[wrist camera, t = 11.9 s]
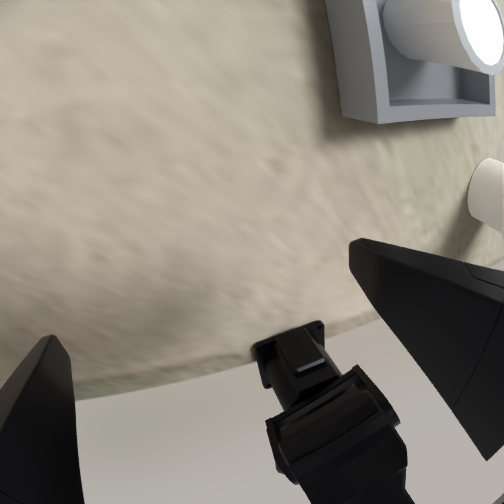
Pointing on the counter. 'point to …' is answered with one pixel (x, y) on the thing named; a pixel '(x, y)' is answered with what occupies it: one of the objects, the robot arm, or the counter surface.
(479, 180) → the cylindrical container
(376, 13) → the tray
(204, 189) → the counter surface
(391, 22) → the short white cylinder
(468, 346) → the robot arm
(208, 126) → the counter surface
